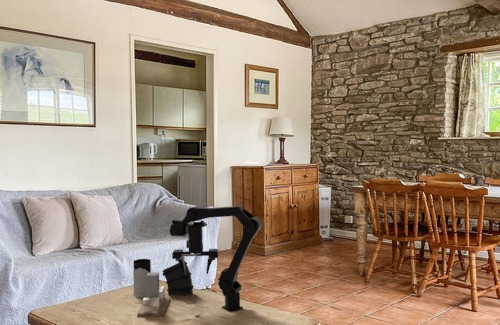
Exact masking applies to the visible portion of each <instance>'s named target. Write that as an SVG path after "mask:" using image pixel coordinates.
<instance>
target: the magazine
mask: <svg viewBox="0 0 500 325" xmlns="http://www.w3.org/2000/svg"><path fill="white" fill-rule="evenodd" d="M184 263H185V275H184V273H183V270H182V268H181V266H180V264H179V262H178V263H175V264H173V265H171V266H169V267H167V268H165V269H163V270H162V276H163V277H164V278H165V280H166V281H165V284H166V285H167V289H166V291H167V294H168V295H169V296H170V295H175V296H177V295H178V296H192V295H193V294H194V292H193V291H194V290H193V289H194V284H193V281H192V279H193V278H192V272H190V269H189V266H188V261H186V260H185V259H184Z"/></svg>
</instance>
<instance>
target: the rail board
mask: <svg viewBox="0 0 500 325" xmlns="http://www.w3.org/2000/svg"><path fill="white" fill-rule="evenodd" d="M165 289H166V288H165V286H163V285H161V286H160V285H159V297H160V304H159V297H157V298H147V297H142V303H141V304H142V305H141V306H140V308H139V310H138V311H137V315H136V316H137V318H138V317H139V318H140V317H164V315H165V312H166V310H167V308H168V305H169V303H170V301H171V296H166V290H165Z"/></svg>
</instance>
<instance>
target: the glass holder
mask: <svg viewBox="0 0 500 325" xmlns="http://www.w3.org/2000/svg"><path fill="white" fill-rule="evenodd" d="M151 264H152V263H151V259H150V258H138V259H135V260H133V272H132V273H133V275H132V276H133V292H132V295H133V297H138V298H146V297H147V288H146V275H147V274H148V273H152V266H151Z"/></svg>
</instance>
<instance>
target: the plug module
mask: <svg viewBox="0 0 500 325" xmlns="http://www.w3.org/2000/svg"><path fill="white" fill-rule="evenodd" d="M159 286H160V272H157V271H156V272H155V271H154V272H151V273H148V274H147V275H146V288H147V296H146V298H157V297H159ZM159 304H160V297H159Z"/></svg>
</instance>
